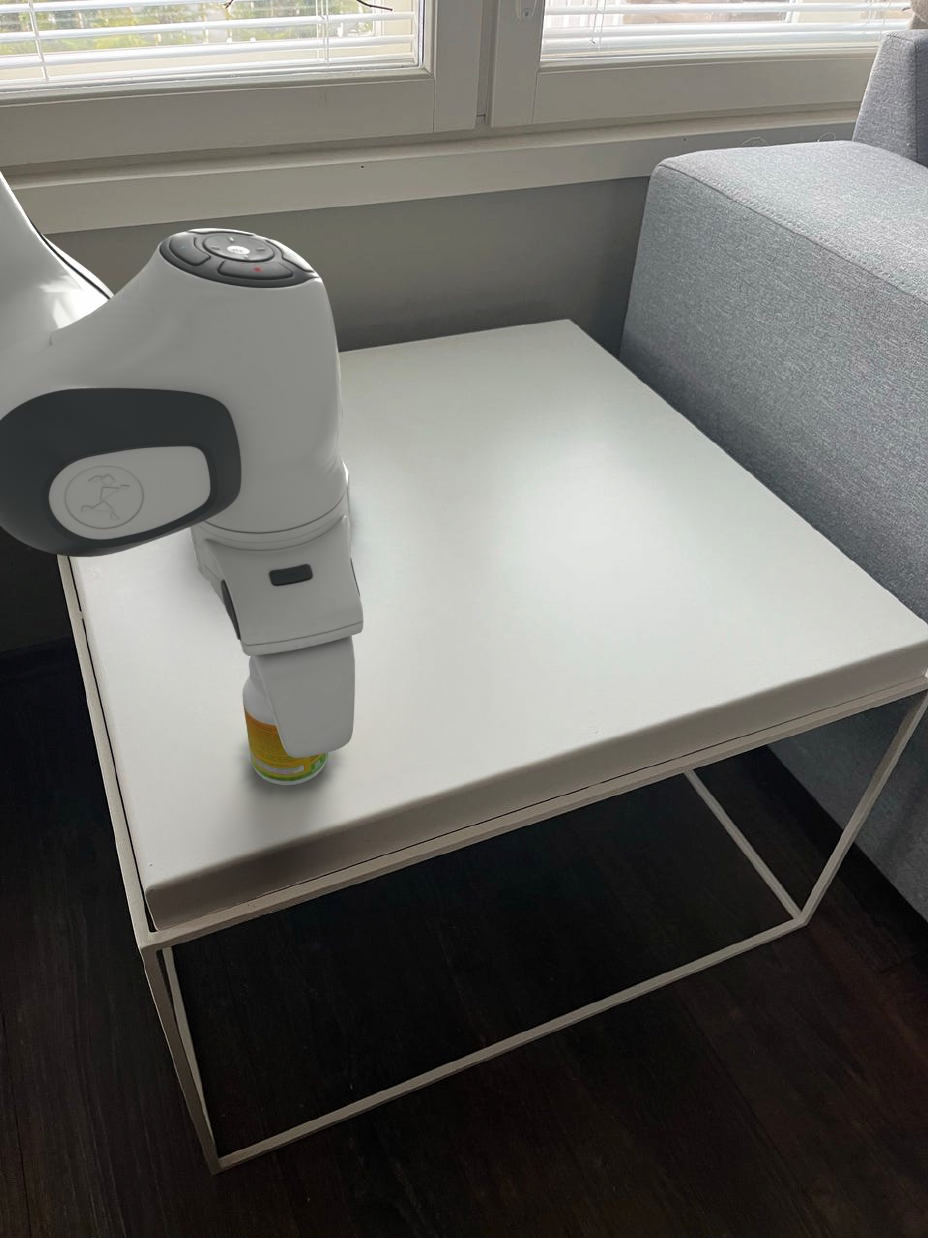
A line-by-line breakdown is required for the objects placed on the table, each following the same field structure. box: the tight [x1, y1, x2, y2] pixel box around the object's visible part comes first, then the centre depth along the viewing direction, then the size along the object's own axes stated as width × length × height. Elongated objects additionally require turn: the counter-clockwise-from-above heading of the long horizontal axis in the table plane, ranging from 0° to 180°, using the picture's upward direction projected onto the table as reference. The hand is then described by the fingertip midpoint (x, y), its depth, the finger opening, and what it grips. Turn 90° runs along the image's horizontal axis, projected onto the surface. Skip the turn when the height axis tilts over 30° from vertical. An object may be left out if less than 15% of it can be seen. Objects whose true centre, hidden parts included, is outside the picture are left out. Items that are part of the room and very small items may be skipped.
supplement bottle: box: [242, 656, 329, 786], centre depth 65 cm, size 5×5×10 cm
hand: (290, 693), depth 64 cm, fingers open, 8 cm apart
